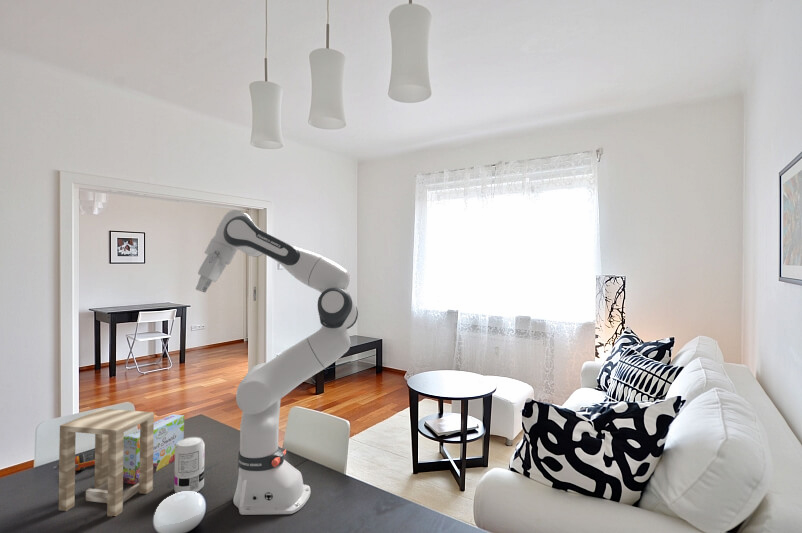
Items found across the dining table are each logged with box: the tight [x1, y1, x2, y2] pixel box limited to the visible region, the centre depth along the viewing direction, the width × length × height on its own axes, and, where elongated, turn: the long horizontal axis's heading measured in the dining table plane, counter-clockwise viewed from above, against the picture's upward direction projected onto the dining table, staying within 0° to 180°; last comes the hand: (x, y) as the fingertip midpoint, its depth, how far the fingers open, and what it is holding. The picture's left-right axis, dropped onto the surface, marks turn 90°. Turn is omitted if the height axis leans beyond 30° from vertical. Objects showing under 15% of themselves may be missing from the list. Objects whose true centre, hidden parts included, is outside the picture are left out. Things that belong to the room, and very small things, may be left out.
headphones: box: [53, 450, 95, 472], centre depth 142 cm, size 17×5×20 cm
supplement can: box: [173, 436, 206, 494], centre depth 128 cm, size 8×8×15 cm
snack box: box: [123, 413, 185, 486], centre depth 140 cm, size 21×6×15 cm, turn 168°
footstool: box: [58, 408, 155, 517], centre depth 122 cm, size 18×15×24 cm
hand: (200, 291), depth 137 cm, fingers open, 8 cm apart
